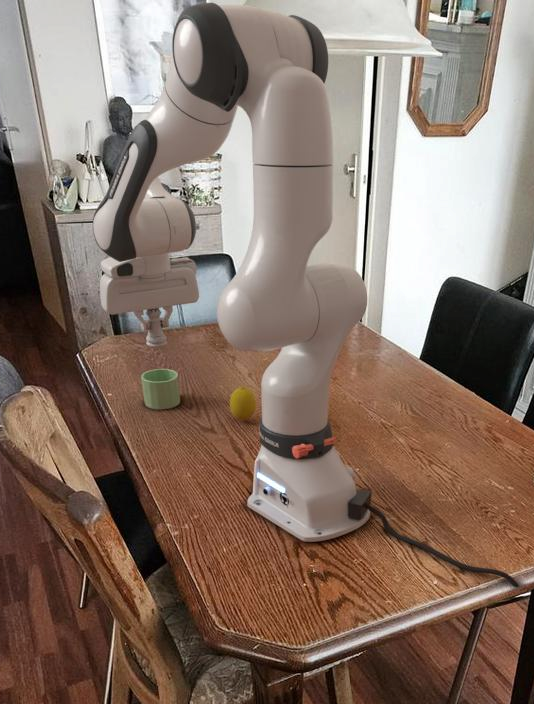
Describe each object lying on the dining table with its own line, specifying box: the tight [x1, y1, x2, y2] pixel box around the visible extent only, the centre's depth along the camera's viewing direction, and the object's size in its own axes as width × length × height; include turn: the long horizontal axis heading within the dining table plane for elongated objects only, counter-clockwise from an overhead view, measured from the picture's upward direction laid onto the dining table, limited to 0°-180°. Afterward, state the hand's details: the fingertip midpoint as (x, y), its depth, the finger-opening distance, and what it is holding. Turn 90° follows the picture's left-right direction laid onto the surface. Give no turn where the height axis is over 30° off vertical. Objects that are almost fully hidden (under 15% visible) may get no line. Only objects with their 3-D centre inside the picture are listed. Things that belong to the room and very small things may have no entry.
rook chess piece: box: [145, 308, 168, 349], centre depth 134 cm, size 4×4×8 cm
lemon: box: [229, 386, 257, 422], centre depth 135 cm, size 6×6×8 cm
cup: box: [140, 368, 181, 410], centre depth 142 cm, size 8×8×6 cm
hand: (155, 328), depth 134 cm, fingers closed on rook chess piece, 3 cm apart
